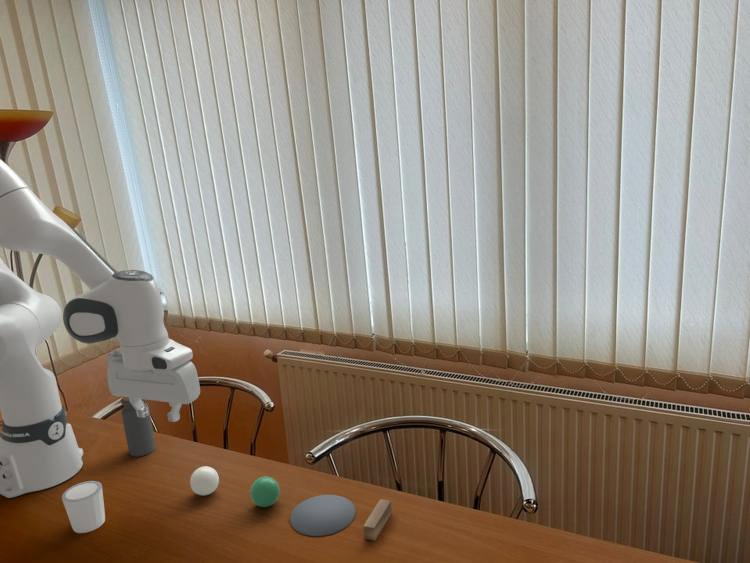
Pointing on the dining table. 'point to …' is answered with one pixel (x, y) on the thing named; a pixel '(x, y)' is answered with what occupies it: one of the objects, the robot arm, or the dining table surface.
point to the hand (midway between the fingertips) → (158, 418)
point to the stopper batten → (377, 519)
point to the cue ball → (204, 480)
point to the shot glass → (85, 506)
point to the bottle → (137, 430)
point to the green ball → (264, 491)
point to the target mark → (322, 515)
